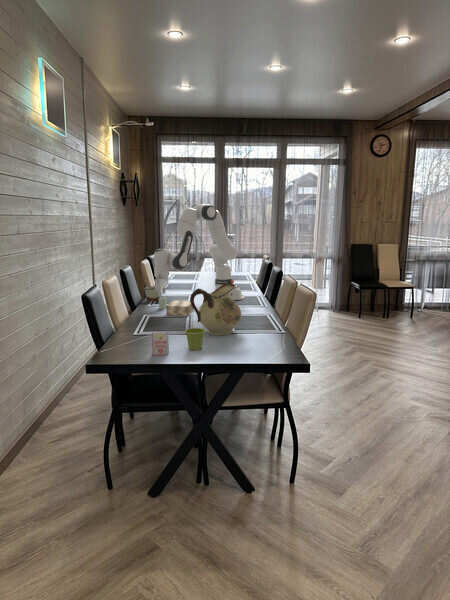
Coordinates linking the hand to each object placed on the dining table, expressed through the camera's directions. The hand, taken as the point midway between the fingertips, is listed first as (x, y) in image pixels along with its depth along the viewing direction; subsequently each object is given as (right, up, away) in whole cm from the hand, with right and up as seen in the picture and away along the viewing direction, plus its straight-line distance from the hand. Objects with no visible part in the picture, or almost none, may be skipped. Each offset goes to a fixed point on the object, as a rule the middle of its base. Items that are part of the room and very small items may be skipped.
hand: (162, 294), depth 274 cm
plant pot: (+27, -26, -79) cm, 87 cm away
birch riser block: (+13, -11, -9) cm, 20 cm away
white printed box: (+12, -28, -86) cm, 91 cm away
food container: (-9, -4, +25) cm, 27 cm away
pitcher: (+38, -21, -53) cm, 69 cm away
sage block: (0, -9, +2) cm, 9 cm away
